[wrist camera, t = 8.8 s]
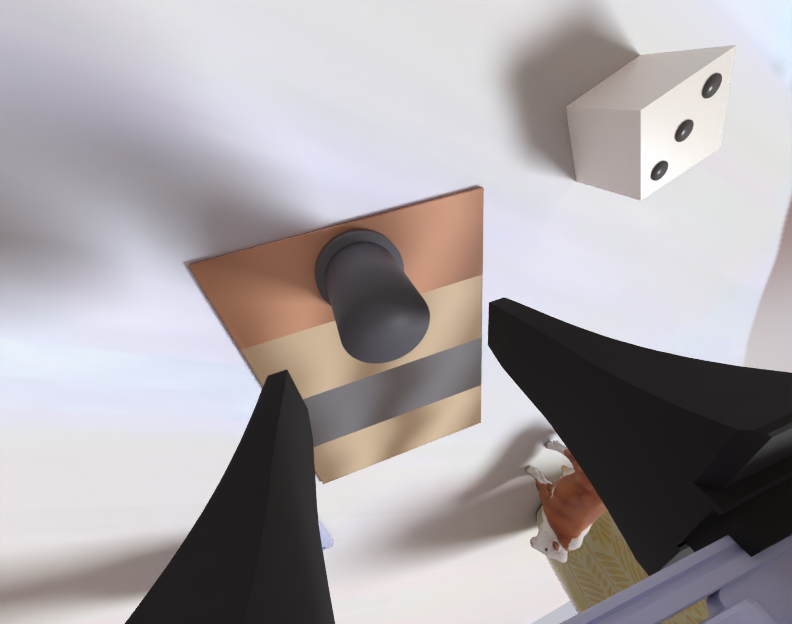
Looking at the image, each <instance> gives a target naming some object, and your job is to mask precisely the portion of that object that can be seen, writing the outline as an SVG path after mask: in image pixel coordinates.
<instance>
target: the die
mask: <svg viewBox="0 0 792 624" xmlns="http://www.w3.org/2000/svg"><path fill="white" fill-rule="evenodd" d="M735 51H736V45H733V46H723V47H713V48H704V49H694V50H685V51H675V52H665V53H656V54H646V55H639V56H638V57H636V58H635V59H634V60H632V61H631V62H629V63H628V64H626V65H625V66H624V67H622V68H621V69H619V70H618V71H616V72H615V73H613V74H612V75H611V76H609V77H608V78H606V79H605V80H603V81H602V82H601V83H599V84H598V85H596V86H595V87H593V88H592V89H590V90H589V91H588V92H586V93H585V94H583V95H582V96H580V97H579V98H578V99H576V100H575V101H573V102H572V103H570V104H569V105H567V106H566V113H567V120H568V127H569V134H570V141H571V148H572V155H573V162H574V169H575V176H576V182H580V183H583V184H586V185H590V186H593V187H597V188H600V189H603V190H607V191H610V192H614V193H617V194H621V195H624V196H627V197H631V198H634V199H638V200H642V199H644V198H645V197H647V196H648V195H650V194H651V193H653V192H654V191H656V190H657V189H659V188H660V187H662V186H663V185H665V184H666V183H668V182H669V181H671V180H672V179H674V178H676V177H677V176H679V175H680V174H682V173H683V172H685V171H686V170H688V169H689V168H691V167H692V166H694V165H695V164H697V163H698V162H700V161H701V160H703V159H704V158H706V157H707V156H709V155H710V154H712V153H713V152H715V151H716V150H718V149H719V148H720V144H721V138H722V132H723V126H724V119H725V113H726V107H727V101H728V95H729V88H730V82H731V76H732V70H733V64H734V57H735Z"/></svg>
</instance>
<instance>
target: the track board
mask: <svg viewBox="0 0 792 624" xmlns="http://www.w3.org/2000/svg"><path fill="white" fill-rule="evenodd" d="M483 190H484V188H483V187H479V188H476V189H472V190H468V191H464V192H461V193H457V194H453V195H449V196H445V197H442V198H438V199H434V200H430V201H426V202H423V203H419V204H415V205H411V206H408V207H404V208H400V209H396V210H392V211H389V212H385V213H381V214H377V215H373V216H370V217H366V218H362V219H358V220H355V221H351V222H347V223H343V224H339V225H336V226H332V227H328V228H324V229H320V230H317V231H313V232H309V233H305V234H302V235H298V236H294V237H290V238H286V239H283V240H279V241H275V242H271V243H268V244H264V245H260V246H256V247H252V248H249V249H245V250H241V251H237V252H233V253H230V254H226V255H222V256H218V257H215V258H211V259H207V260H203V261H199V262H196V263H192V264H189V268H190V269H191V271H192V272H193V274H194V276H195V277H196V279H197V280H198V282H199V284H200V285H201V287H202V289H203V290H204V292H205V293H206V295H207V297H208V298H209V300H210V301H211V303H212V305H213V306H214V308H215V310H216V311H217V313H218V314H219V316H220V318H221V319H222V321H223V322H224V324H225V326H226V327H227V329H228V331H229V332H230V334H231V335H232V337H233V339H234V340H235V342H236V343H237V345H238V347H239V348H240V350H241V352H242V353H243V355H244V356H245V358H246V360H247V361H248V363H249V365H250V366H251V368H252V369H253V371H254V373H255V374H256V376H257V377H258V379H259V381H260V382H261V384H262V386H264V383H265V380H266V378H267V377H268V375H271V374H274V373H277V372H280V371H283V370H286V369H287V370H288V372H289V374H290V376H291V378H292V379H293V381H294V383H295V385H296V387H297V389H298V391H299V393H300V395H301V397H302V399H303V401H304V402H305V404H306V406H307V408H308V413H309V418H310V424H311V429H312V435H313V447H314V464H315V471H316V473H317V474H318V476H319V478H320V479H321V481H322V482H323V484H325V483H328V482H330V481H333V480H335V479H338V478H340V477H343V476H345V475H348V474H350V473H353V472H356V471H358V470H361V469H363V468H366V467H368V466H371V465H373V464H376V463H379V462H381V461H384V460H386V459H389V458H391V457H394V456H396V455H399V454H402V453H404V452H407V451H409V450H412V449H414V448H417V447H419V446H422V445H425V444H427V443H430V442H432V441H435V440H437V439H440V438H442V437H445V436H448V435H450V434H453V433H455V432H458V431H460V430H463V429H465V428H468V427H471V426H473V425H476V424H478V423H481V355H482V273H483ZM353 229H369V230H374V231H377V232H379V233H381V234H383V235H384V236H386V237H387V238H388V239H389V240H390V241H391V242H392V243H393V244H394V245H395V247H396V248H397V249H398V251H399V252H400V254H401V257H402V259H403V264H404V273H405V274H406V275H407V277H408V278H409V280H410V281H411V282H412V284H413V285H414V286H415V288H416V289H417V290H418V292H419V293H420V295H421V296H422V297H423V299H424V300H425V302H426V303H427V305H428V308H429V312H430V323H429V327H428V330H427V332H426V334H425V336H424V338H423V339H422V341H421V342H420V343H419V344H418V345H417V346H416V347H415V348H414V349H413V350H412V351H411V352H409V353H408V354H406V355H405V356H403V357H401V358H399V359H396V360H394V361H390V362H386V363H378V364H374V363H366V362H362V361H359V360H357V359H355V358H353V357H352V356H351V355H349V354H348V353H347V352H346V350H345V349H344V347H343V346H342V343H341V340H340V336H339V333H338V329H337V325H336V322H335V318H334V314H333V310H332V307H331V306H330V305H329V304H328V303H327V302H326V301H325V300H324V299H323V298H322V296H321V294H320V292H319V290H318V287H317V283H316V279H315V264H316V260H317V257H318V255H319V253H320V251H321V250H322V248H323V247H324V246H325V245H326V244H327V242H329V241H330V240H331V239H332V238H333V237H335V236H337V235H338V234H340V233H342V232H345V231H348V230H353Z"/></svg>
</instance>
